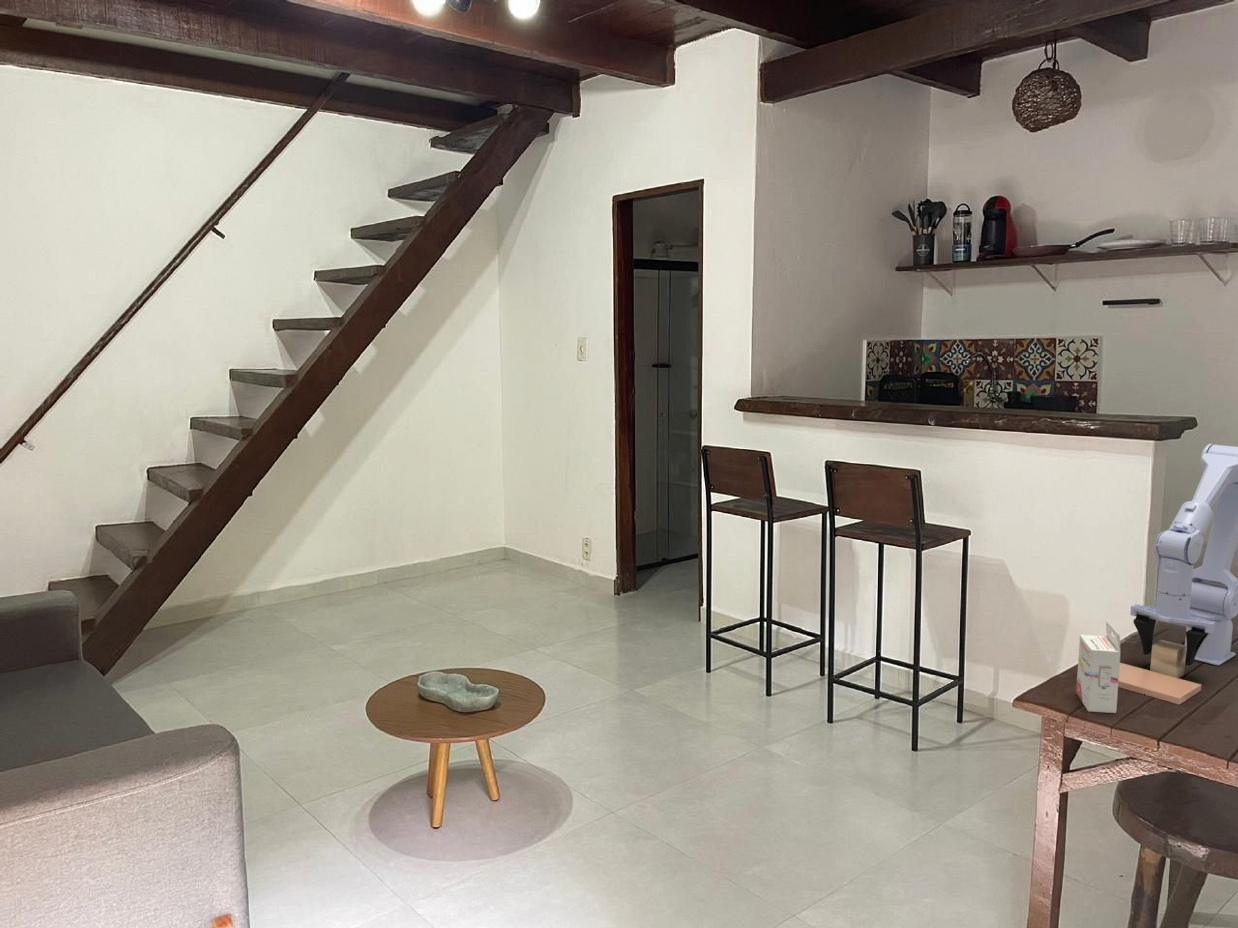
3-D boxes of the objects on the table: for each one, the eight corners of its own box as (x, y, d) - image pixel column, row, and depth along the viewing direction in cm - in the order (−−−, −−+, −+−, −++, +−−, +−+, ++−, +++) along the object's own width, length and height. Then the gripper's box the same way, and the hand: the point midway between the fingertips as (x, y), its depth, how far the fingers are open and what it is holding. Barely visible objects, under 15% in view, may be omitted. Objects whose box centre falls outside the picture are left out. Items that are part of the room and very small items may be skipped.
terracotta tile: (1118, 667, 187) (1118, 662, 187) (1200, 690, 175) (1201, 684, 175) (1095, 680, 181) (1095, 674, 181) (1179, 704, 169) (1179, 698, 169)
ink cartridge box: (1074, 693, 175) (1079, 618, 173) (1102, 695, 174) (1108, 619, 172) (1087, 711, 167) (1092, 633, 164) (1117, 714, 166) (1123, 634, 163)
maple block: (1159, 668, 187) (1161, 639, 186) (1183, 674, 183) (1186, 645, 182) (1149, 673, 184) (1152, 644, 183) (1174, 680, 181) (1177, 650, 180)
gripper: (1125, 587, 184) (1120, 652, 186) (1207, 604, 173) (1200, 673, 175) (1141, 581, 189) (1136, 645, 191) (1221, 597, 177) (1215, 665, 179)
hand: (1168, 658), depth 183 cm, fingers open, 7 cm apart
